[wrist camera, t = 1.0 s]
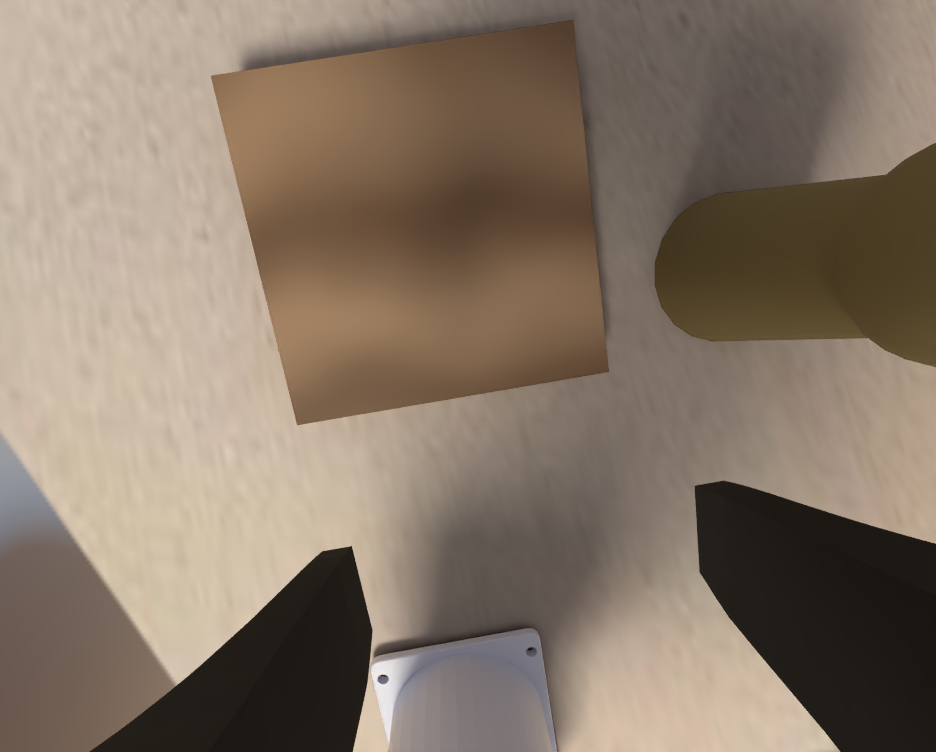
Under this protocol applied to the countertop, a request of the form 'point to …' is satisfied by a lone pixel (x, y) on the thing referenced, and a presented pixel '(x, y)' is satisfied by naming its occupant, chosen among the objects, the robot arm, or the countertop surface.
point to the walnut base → (421, 218)
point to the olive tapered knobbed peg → (810, 262)
